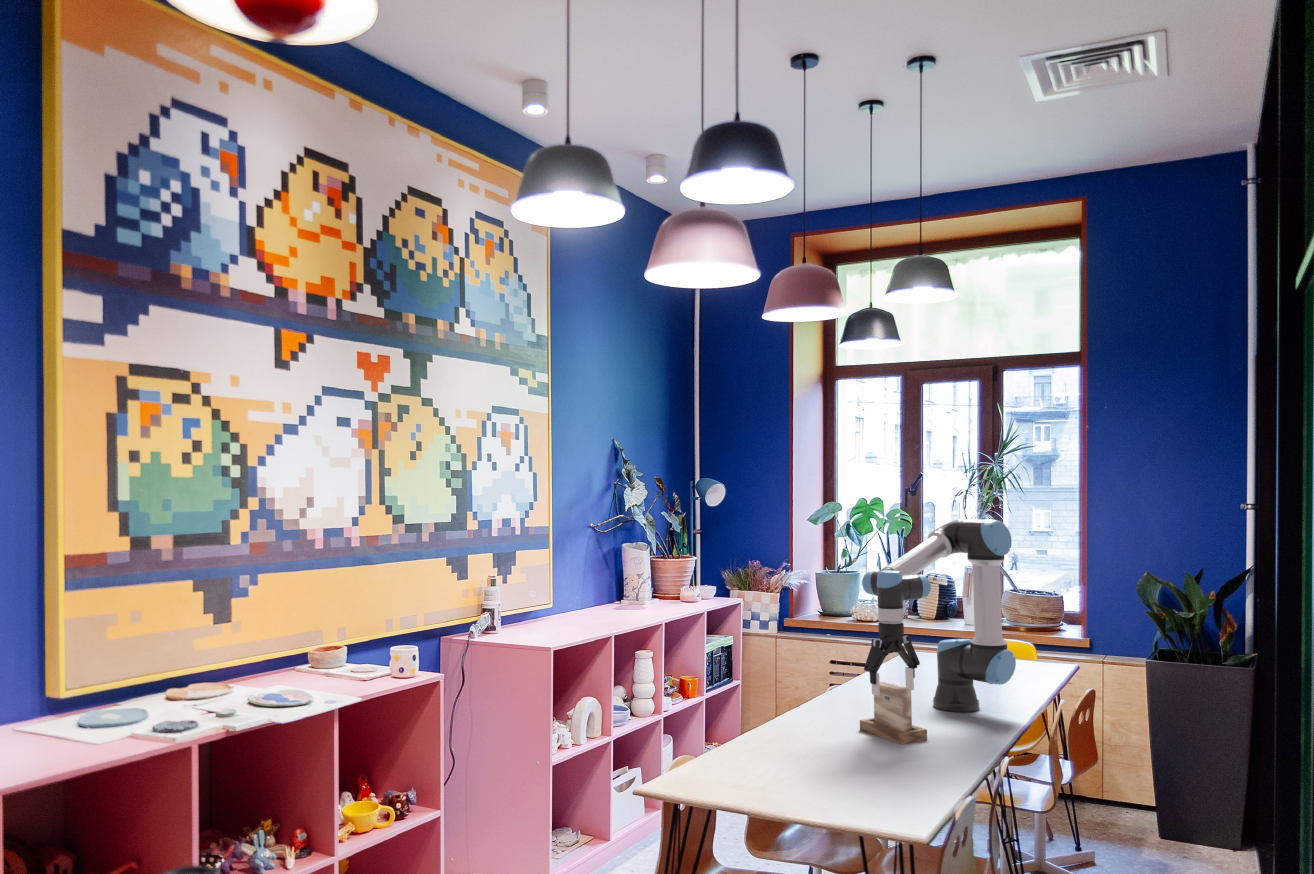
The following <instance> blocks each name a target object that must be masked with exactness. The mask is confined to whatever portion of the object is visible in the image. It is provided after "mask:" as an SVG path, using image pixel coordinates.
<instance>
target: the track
mask: <svg viewBox="0 0 1314 874" xmlns="http://www.w3.org/2000/svg"><path fill="white" fill-rule="evenodd" d="M859 731H861V732H862V731H863V732H864V733H868V734H871V735H874V736H876V737H879V738H882V739H886V740H889V741H890V742H891V741H892V742H895V743H898V744H900V745H904V744H910V743H917V742H922V741H927V740H928V729H926V728H923V727H920V726H916V725H914V724H912V731H907V732H904V731H901V730H897V729H894V728H891V727H888V726H885V725H882V724H879V723H876V722H874V717H872V718H871V717H870V718H865V719H859Z"/></svg>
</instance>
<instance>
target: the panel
mask: <svg viewBox="0 0 1314 874" xmlns="http://www.w3.org/2000/svg"><path fill="white" fill-rule="evenodd" d="M873 710H874V711H873V714H874V716H873V718H874V722H876V723H879V724H882V725H885V726H888V727H891V728H894V729H897V730H901V731H904V732H907V731H912V725H913V722H912V721H913V718H912V716H913V714H912V713H913V712H912V690H911V689H909V688H906V686H905V687H904V686H902V685H898V684H894V683H890V682H886V681H880V696H877V695H874V694H873Z"/></svg>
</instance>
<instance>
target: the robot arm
mask: <svg viewBox="0 0 1314 874" xmlns="http://www.w3.org/2000/svg"><path fill="white" fill-rule="evenodd" d="M1012 540H1013V539H1012V536H1011V532H1010V530H1009V527H1007V525H1006V524H1005V523H1004V522H1003V521H1000V520H996V519H991V518H990V519H989V518H984V519H983V518H982V519H981V518H977V519H976V518H970V519H969V518H959V519H955V520H953V521H949V522H947V523H945V524H943V525H941V526H939V527H938V528H936V529H935V530H933V531H932V532H929V534H928V536H927V539H925V540H923V541H922V542H920V543H919V544H918V545H916V546H915V547H913V548H912V549H910V550H909V551H907V552H905V553H904V554H903V555H901V556H899V558H897V559H895V560H894V561H892V562H891V563H889V564H888V565H886V566H885V567H883V568H882V569H880V570H878V571H868V572H866V573H865V574H864V575H863V577H862V581H861V584H862V585H861V586H862V588H863V591H864V592H865V593H866V594H869V595H872V596H875V597H877V618H878V619H877V620H878V621H879V622H878V625H877V626H878V634H879V639H877V638H876V639H875V638H872V639H871V644H870V646H871V647H870V649H869V652H868V655H867V659H866V661H865V664H864V666H863V667H864V668H863V670H864V672H865V671H866V672H868V673H869V682H870V684H871V695H873V696H874V695H877V696H880V682H881V681H880V673H878V671H879V669H880V667H881V666H882V665H883V662H884V661H885V659H886V657H887V656H889V654H893V653H895V654H896V653H897V654H898V655H899V656H900V658H901V659H902V661H903V662H904V663H905V665H906V666H905V667H904V668H905V669H904V670H905V671H904V673H905V677H904V678H905V687H906V688H909V689H911V691H914V690H915V684H914V683H915V681H914V679H915V678H916V673H915V669H917V668H918V666H920V663H921V662H920V660H919V657H918V655H917V653H916V650H915V648H914V646H913V642H912V636H910V635H905V628H904V627H905V626H904V625H905V624H904V622H903V621H904V602H905V601H913V600H920V599H924V598H926V597H928V596H929V594H930V593H931V589H932V586H931V581H930V580H929V577H927V576H925V575H924V574H919V573H920V572H922V571H923V570H925V569H926V568H928V567H930V566H931V565H932V564H933V563H935V562H937V561H938V560H939V559H941V558H947V557H949V556H951V555H952V554H953V555H954V554H959V553H960V554H961V553H963V554H967V561H968V562H970V563H971V565H972V585H973V586H972V587H973V589H972V591H973V616H974V617H973V621H974V622H973V623H974V636H973V637H972V638H953V639H951V638H950V639H944V640H940V641H939V642H938V643H937V647H936V648H937V650H936V658H937V662H936V663H937V686H936V689H935V693H934V697H933V699H932V705H933V707H934V708H936V709H938V710H943V711H949V712H956V713H966V712H967V713H969V712H977V711H979V710H980V701H979V699H978V697H977V693H976V689H975V685H974V681H975V682H981V683H987V684H988V685H999V686H1000V685H1001V686H1002V685H1005V684H1007V683H1008V682H1009V681H1010V680H1011V678H1012V677H1013V675H1014V673H1015V670H1016V664H1017V662H1016V657H1015V654H1014V652H1012V651H1011V650H1010V649H1008V642H1007V641H1006V640H1005V639H1004V638H1003V628H1002V627H1003V623H1002V597H1001V595H1002V593H1001V591H1002V590H1001V571H1000V570H1001V567H1000V565H1001V564H1002V563H1003V562H1005V556H1006V555H1008V554H1009V552H1010V551H1011V548H1012V544H1013V543H1012Z"/></svg>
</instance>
